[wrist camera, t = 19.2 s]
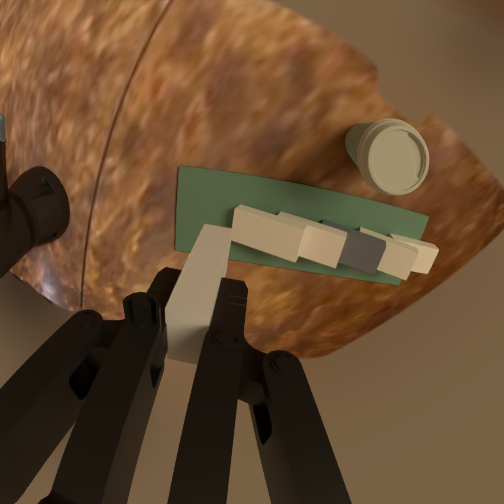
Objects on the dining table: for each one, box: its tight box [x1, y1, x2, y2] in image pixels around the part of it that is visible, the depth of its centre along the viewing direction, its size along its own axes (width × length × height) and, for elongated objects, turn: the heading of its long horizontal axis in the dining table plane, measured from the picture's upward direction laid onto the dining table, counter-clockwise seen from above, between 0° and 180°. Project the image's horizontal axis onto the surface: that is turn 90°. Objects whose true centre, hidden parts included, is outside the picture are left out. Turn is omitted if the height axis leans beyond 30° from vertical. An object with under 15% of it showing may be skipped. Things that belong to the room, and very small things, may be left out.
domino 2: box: [277, 211, 347, 268], centre depth 39 cm, size 2×5×10 cm
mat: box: [175, 165, 429, 285], centre depth 41 cm, size 40×14×1 cm, turn 81°
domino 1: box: [231, 205, 307, 262], centre depth 39 cm, size 2×5×10 cm
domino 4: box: [389, 234, 439, 274], centre depth 41 cm, size 2×5×10 cm
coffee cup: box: [345, 119, 429, 195], centre depth 29 cm, size 8×9×12 cm
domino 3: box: [359, 227, 419, 280], centre depth 39 cm, size 2×5×10 cm
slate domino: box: [322, 220, 386, 275], centre depth 39 cm, size 2×5×10 cm
